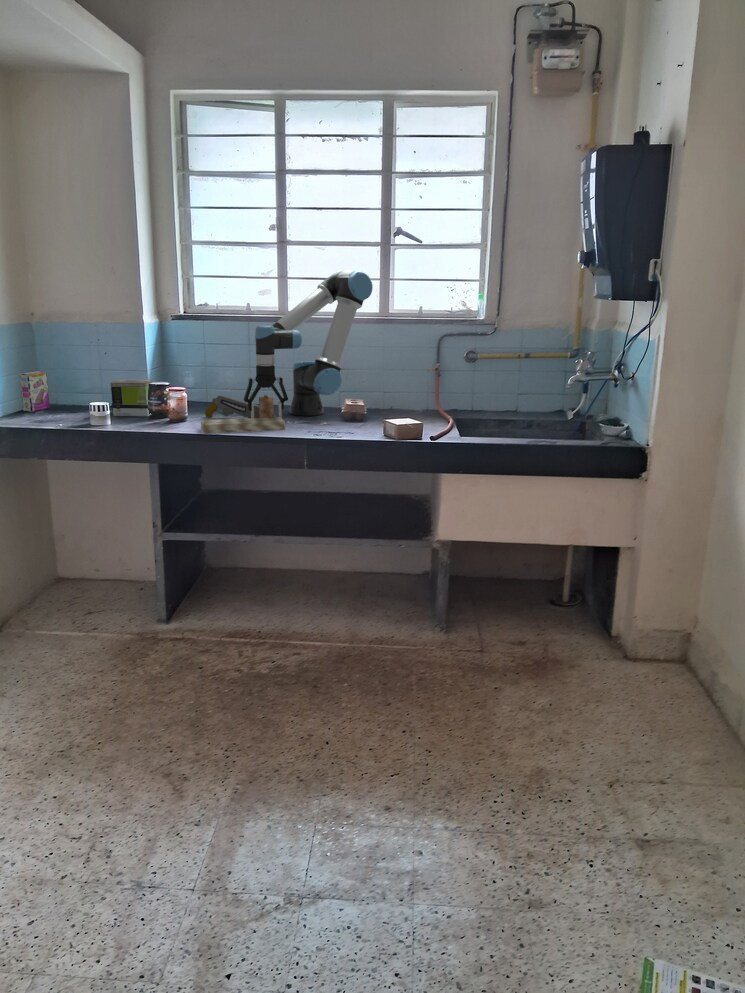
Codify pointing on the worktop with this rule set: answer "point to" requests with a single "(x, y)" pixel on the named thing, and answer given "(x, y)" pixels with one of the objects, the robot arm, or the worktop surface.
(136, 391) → the tea box
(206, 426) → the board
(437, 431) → the worktop surface
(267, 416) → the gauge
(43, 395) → the candy bar box
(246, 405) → the gun
